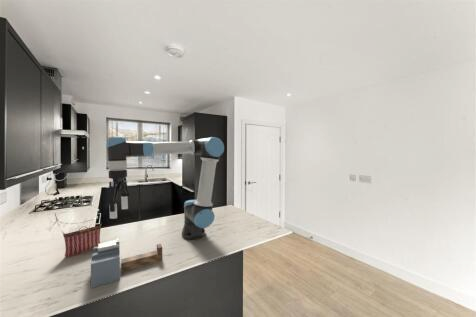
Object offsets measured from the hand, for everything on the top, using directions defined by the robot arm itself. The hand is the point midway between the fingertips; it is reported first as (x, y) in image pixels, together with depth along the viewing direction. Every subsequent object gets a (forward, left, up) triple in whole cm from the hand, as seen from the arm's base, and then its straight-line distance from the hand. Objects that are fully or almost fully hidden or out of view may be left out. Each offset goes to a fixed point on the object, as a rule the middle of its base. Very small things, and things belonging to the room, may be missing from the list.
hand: (119, 213), depth 93 cm
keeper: (+4, +5, -16) cm, 17 cm away
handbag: (+18, -23, -26) cm, 39 cm away
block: (+5, +5, -26) cm, 26 cm away
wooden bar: (-9, +5, -26) cm, 28 cm away
